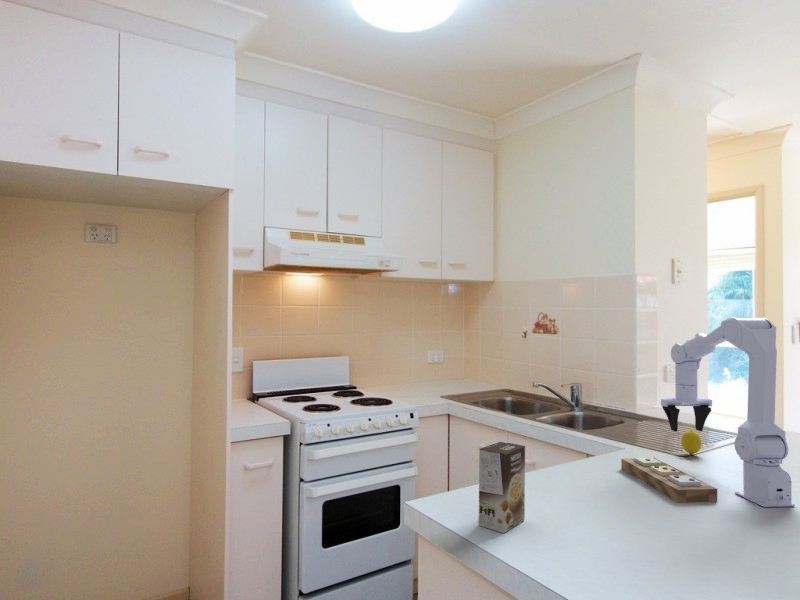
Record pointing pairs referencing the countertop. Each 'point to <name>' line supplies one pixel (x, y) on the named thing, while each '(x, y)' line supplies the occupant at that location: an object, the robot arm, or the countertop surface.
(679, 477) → the button two
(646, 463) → the button one
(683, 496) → the frame
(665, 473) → the button three
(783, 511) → the countertop surface
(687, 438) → the lemon
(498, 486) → the coffee box
